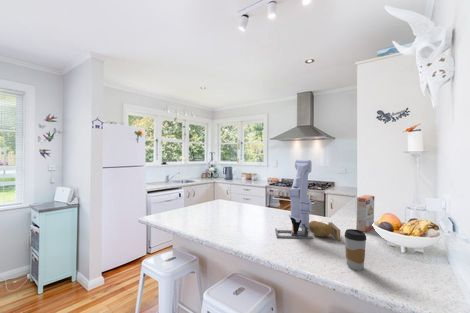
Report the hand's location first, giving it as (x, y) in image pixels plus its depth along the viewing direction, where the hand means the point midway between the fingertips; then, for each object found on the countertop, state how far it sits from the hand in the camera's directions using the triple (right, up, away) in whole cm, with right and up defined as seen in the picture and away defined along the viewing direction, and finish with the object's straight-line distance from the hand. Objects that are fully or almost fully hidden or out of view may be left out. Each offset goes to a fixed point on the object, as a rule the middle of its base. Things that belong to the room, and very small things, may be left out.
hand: (295, 230), depth 134 cm
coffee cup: (+15, -3, -38) cm, 41 cm away
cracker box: (+48, -3, +11) cm, 49 cm away
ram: (+2, -2, 0) cm, 3 cm away
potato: (+14, -3, -1) cm, 15 cm away
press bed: (+6, -3, 0) cm, 6 cm away
